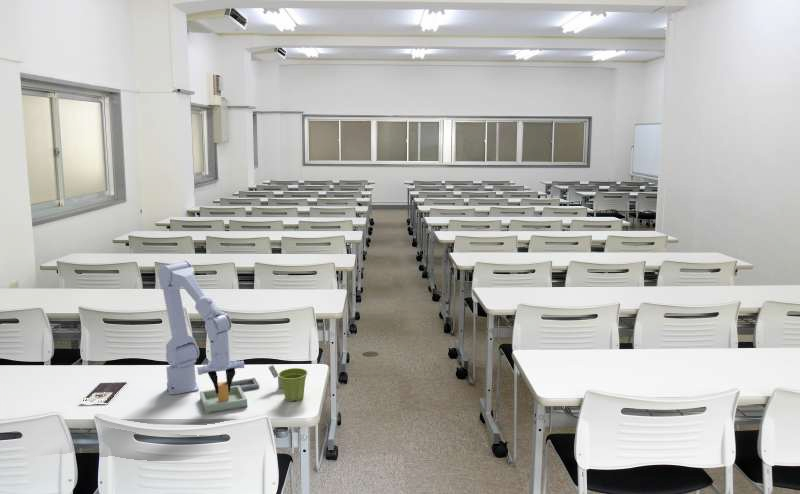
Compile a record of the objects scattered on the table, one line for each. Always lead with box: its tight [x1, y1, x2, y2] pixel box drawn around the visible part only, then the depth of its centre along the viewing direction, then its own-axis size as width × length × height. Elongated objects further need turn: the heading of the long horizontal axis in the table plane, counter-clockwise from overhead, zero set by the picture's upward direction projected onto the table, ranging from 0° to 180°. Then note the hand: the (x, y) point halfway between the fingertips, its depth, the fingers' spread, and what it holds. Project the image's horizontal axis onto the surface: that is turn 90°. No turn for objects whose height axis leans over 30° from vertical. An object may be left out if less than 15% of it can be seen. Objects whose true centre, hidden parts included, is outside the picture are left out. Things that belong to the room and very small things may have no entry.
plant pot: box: [278, 367, 308, 402], centre depth 226 cm, size 9×9×9 cm
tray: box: [199, 385, 248, 415], centre depth 224 cm, size 13×13×3 cm
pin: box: [218, 381, 229, 402], centre depth 223 cm, size 3×3×6 cm
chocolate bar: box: [82, 381, 127, 404], centre depth 233 cm, size 9×1×18 cm
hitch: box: [231, 377, 260, 392], centre depth 237 cm, size 9×7×1 cm
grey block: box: [268, 364, 283, 389], centre depth 236 cm, size 7×2×8 cm, turn 93°
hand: (222, 391), depth 223 cm, fingers closed on pin, 3 cm apart
